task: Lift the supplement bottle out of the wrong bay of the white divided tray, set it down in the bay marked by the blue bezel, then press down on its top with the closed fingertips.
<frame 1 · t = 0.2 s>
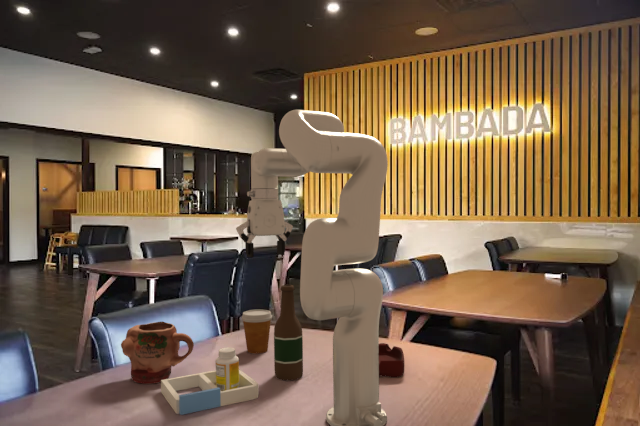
hand: (265, 255, 143), 31 cm above the table, tool pointing down, fingers open, 9 cm apart
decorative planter: (158, 378, 133), on the table
disposable coffee cup: (257, 351, 157), on the table
ashtray: (379, 372, 137), on the table
beer bottle: (288, 376, 133), on the table
supplement bottle: (227, 392, 123), resting in white divided tray
white divided tray: (209, 395, 121), on the table
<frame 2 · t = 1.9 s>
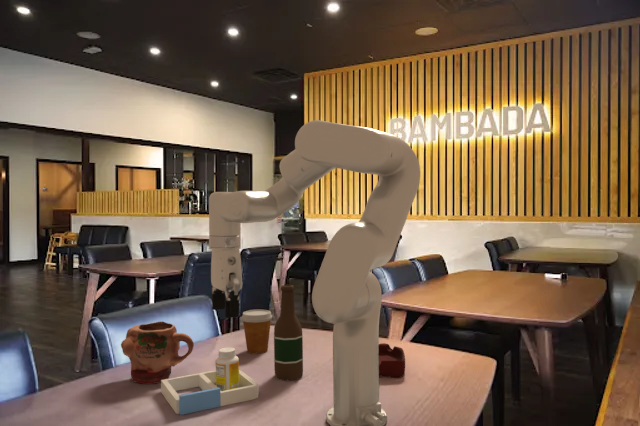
hand: (225, 313, 123), 19 cm above the table, tool pointing down, fingers open, 9 cm apart
nothing on the table moved.
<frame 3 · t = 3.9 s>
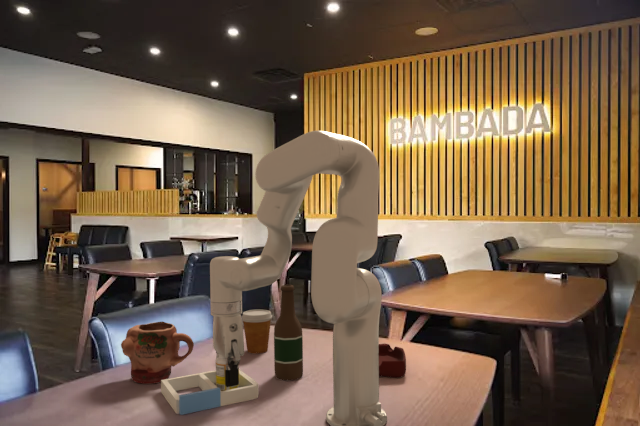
hand: (227, 380, 123), 3 cm above the table, tool pointing down, fingers closed on supplement bottle, 5 cm apart
supplement bottle: (227, 392, 123), resting in white divided tray, touching gripper
everything else where it was.
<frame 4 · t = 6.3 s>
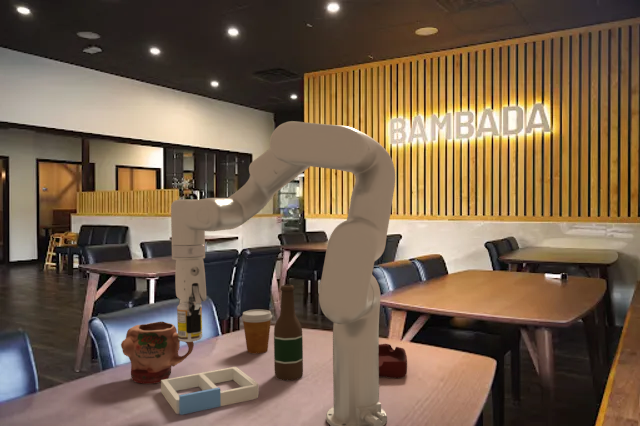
hand: (189, 328, 118), 17 cm above the table, tool pointing down, fingers closed on supplement bottle, 5 cm apart
supplement bottle: (190, 340, 118), point 14 cm above the table, touching gripper
when the fingers open (4 cm above the table, at t = 8.9 s): supplement bottle drops 1 cm, resting in white divided tray.
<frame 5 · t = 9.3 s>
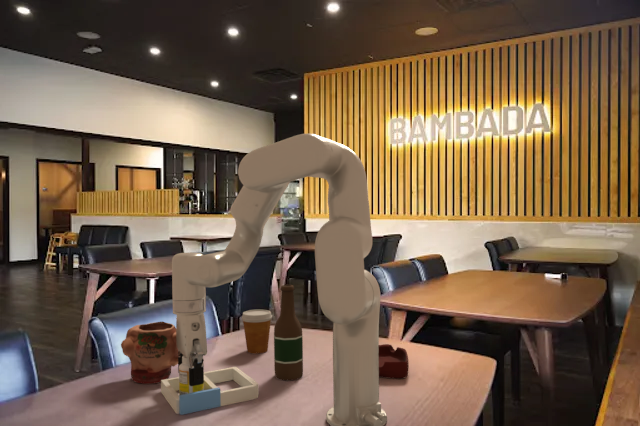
hand: (190, 378, 118), 5 cm above the table, tool pointing down, fingers open, 9 cm apart
supplement bottle: (191, 399, 118), resting in white divided tray
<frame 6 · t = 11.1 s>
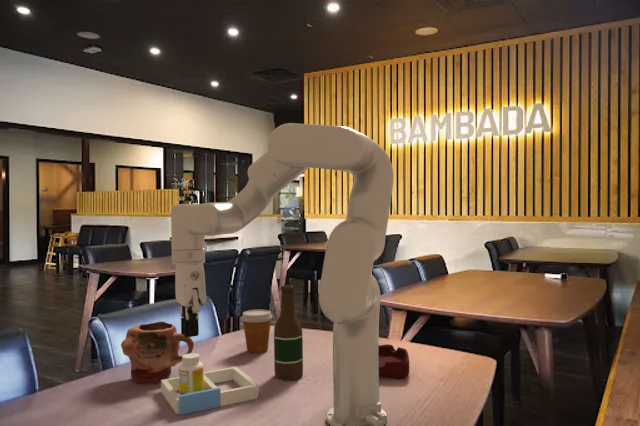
hand: (189, 334, 118), 15 cm above the table, tool pointing down, fingers closed
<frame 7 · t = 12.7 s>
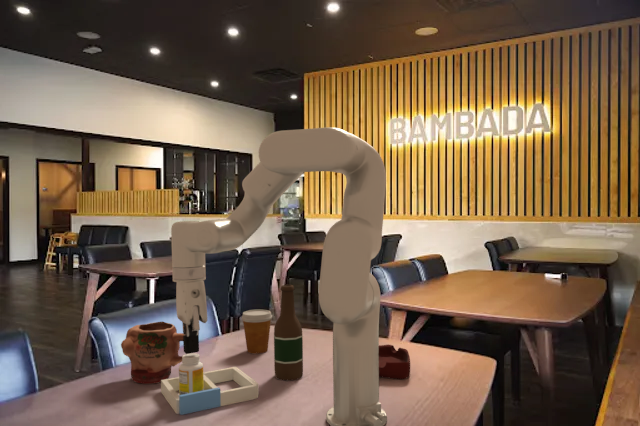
hand: (191, 351, 118), 11 cm above the table, tool pointing down, fingers closed
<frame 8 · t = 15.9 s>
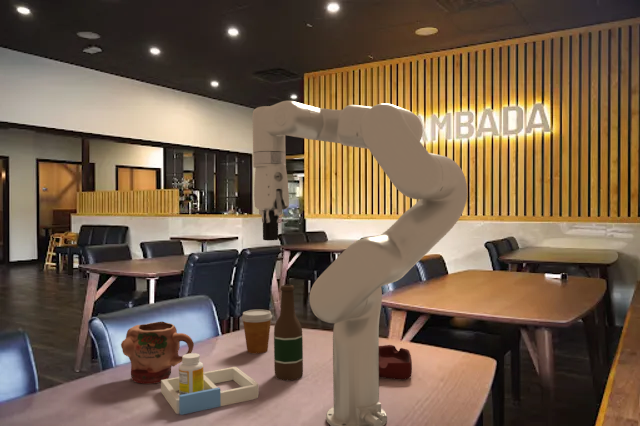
hand: (270, 239, 117), 37 cm above the table, tool pointing down, fingers closed
at the end: supplement bottle inside the target area on the white divided tray (0.1 cm from its centre), point 0.0 cm above the white divided tray's base; supplement bottle tilted 0°; the gripper is holding nothing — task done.
